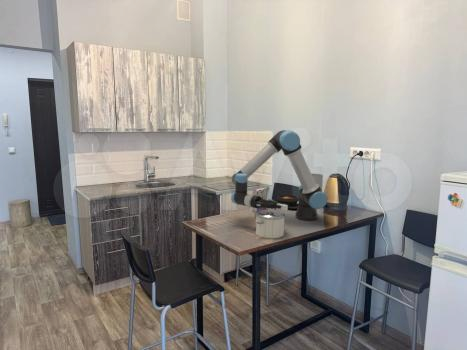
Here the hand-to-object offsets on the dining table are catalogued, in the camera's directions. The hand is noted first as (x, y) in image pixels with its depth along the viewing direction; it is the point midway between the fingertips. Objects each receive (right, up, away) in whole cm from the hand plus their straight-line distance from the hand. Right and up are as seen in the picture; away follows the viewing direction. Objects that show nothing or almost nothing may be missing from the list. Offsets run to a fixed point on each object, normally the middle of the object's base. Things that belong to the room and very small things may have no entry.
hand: (286, 207), depth 188 cm
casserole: (+12, -7, +74) cm, 76 cm away
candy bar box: (-11, -8, +63) cm, 64 cm away
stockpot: (-9, -16, +10) cm, 21 cm away
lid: (-9, -5, +8) cm, 13 cm away
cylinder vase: (+33, -6, +78) cm, 85 cm away
